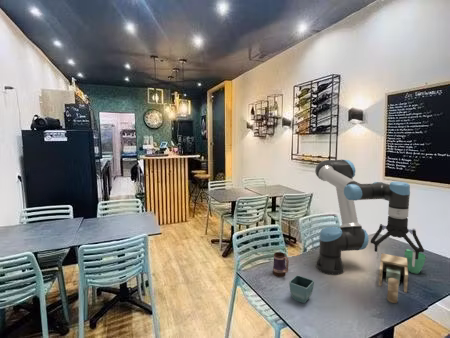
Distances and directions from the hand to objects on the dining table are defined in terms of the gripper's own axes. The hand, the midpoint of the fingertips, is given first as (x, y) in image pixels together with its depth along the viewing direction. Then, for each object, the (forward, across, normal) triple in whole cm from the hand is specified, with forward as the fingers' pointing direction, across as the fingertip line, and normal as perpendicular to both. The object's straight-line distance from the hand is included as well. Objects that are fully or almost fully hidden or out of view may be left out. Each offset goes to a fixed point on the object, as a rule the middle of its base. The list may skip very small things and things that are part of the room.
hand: (395, 261), depth 121 cm
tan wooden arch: (+19, 0, +20) cm, 27 cm away
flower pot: (+19, -36, -21) cm, 46 cm away
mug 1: (+19, -52, -5) cm, 56 cm away
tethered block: (+19, 0, +10) cm, 21 cm away
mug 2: (+19, +9, +40) cm, 45 cm away
